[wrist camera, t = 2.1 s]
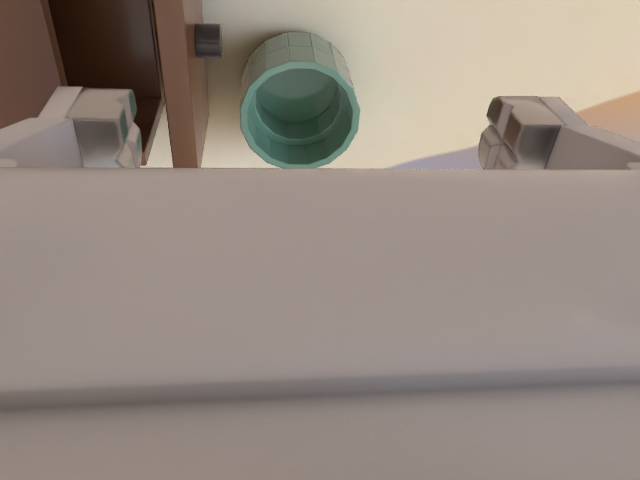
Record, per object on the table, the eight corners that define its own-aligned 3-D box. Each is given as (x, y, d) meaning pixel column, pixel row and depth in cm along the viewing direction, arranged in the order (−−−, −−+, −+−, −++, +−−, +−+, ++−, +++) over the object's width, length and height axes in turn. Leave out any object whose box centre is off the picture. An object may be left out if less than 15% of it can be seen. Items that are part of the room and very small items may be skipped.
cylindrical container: (353, 30, 32) (365, 63, 28) (343, 130, 36) (353, 170, 32) (240, 27, 31) (238, 59, 28) (243, 129, 36) (242, 170, 32)
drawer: (219, -106, 27) (208, -76, 21) (229, 114, 34) (223, 180, 28) (-113, -124, 25) (-220, -97, 20) (-28, 109, 32) (-89, 179, 27)
